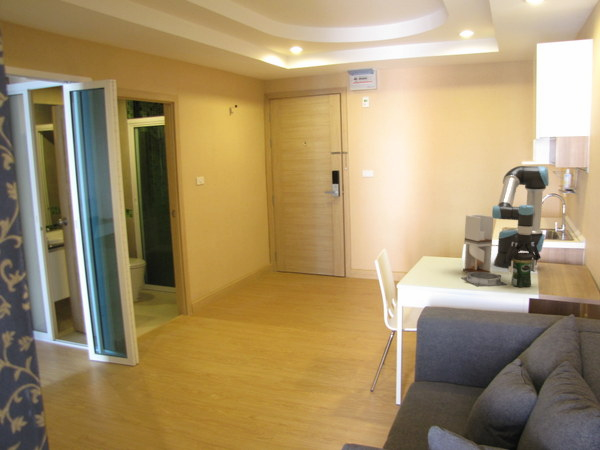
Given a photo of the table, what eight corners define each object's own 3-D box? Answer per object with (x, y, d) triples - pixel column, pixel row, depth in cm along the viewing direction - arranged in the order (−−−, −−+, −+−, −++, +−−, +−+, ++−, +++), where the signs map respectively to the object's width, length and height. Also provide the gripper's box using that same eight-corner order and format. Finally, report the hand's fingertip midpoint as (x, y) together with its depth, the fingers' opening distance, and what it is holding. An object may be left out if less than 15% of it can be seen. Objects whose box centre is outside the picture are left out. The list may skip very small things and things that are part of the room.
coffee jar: (525, 283, 282) (527, 251, 279) (532, 287, 274) (535, 254, 271) (508, 283, 281) (510, 251, 278) (516, 287, 273) (518, 254, 270)
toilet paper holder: (462, 271, 308) (465, 215, 303) (476, 270, 312) (479, 214, 307) (476, 276, 298) (479, 217, 293) (489, 274, 302) (493, 216, 297)
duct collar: (491, 276, 296) (492, 271, 296) (509, 285, 279) (509, 278, 278) (459, 278, 293) (459, 272, 292) (474, 286, 275) (475, 280, 275)
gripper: (540, 232, 279) (537, 269, 282) (499, 232, 275) (497, 270, 278) (549, 234, 272) (546, 272, 275) (507, 235, 268) (504, 273, 270)
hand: (521, 271), depth 276 cm, fingers open, 13 cm apart
